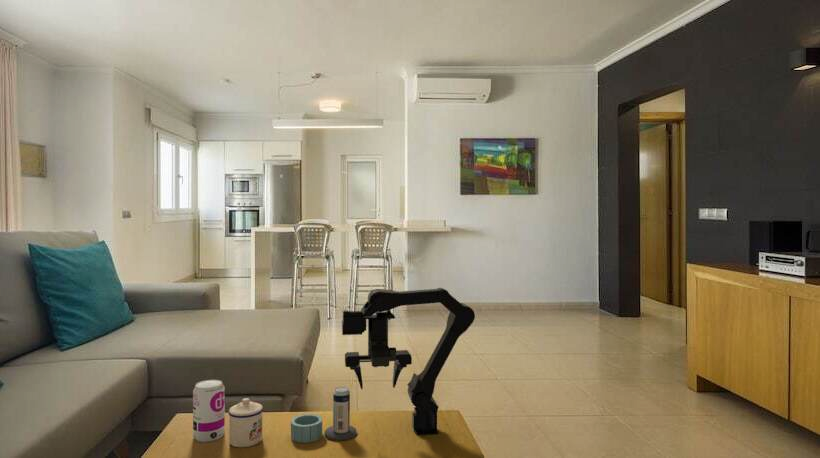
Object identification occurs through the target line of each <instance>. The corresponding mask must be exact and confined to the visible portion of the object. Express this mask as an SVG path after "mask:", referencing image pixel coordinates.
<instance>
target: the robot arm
mask: <svg viewBox="0 0 820 458" xmlns="http://www.w3.org/2000/svg"><path fill="white" fill-rule="evenodd" d="M437 303H439V304H441V305H442V306H443V307H444V308H446V310H448V311H449V313H448V316H447V321H446V327H445V329H444V331H443V333H442V335H441V337H440V339H439V341H438V342H437V344H436V347H435V348H434V349H433V352H432V354H431V355H430V358H429V359H428V361H427V363H426V364H425V366H424V369H423V370H422V371H421V372H420V373H419V374H416V373H415V372H414V373H413V374H412V377H411V379H410V381H409V382H408V383H407V385H406V386H407V387H408V388H407V395H408V397H409V399H410V402H411V403H412V405H413V406H414V408H413V412H412V414H411V415H412V416H411V421H412V422H411V423H412V424H411V428H412V429H413V430H414V433H415V434H416V435H418V436H419V435H429V434H430V435H431V434H432V435H434V434H439V433H440V432H439V429H438V410H439V405H438V404H437V402H436V401H435V399H434V397H433V395H434V391H435V386H436V381H437V378H438V377H439V375H440V373H441V371H442V369H443V367H444V365H445V364H446V362H447V360H448V357H450V354H451V352H452V351H453V349H454V347H455V345H456V344H457V341H458V340H459V338H460V337H461V336H462V335H463V334H465V332H466V331H468V329H469V328H470V326H471V325H472V324H473V322H475V319H476V314H475V311H474V310H473V309H472V307H470V306H468V305H467V304H465V303H463V302H460V301H459V300H457V299H456V298H455V297H454V296H453V295H452V294H450V292H449V291H448V290H446V289H445V288H443V287H438V288H430V289H429V288H428V289H416V290H415V289H414V290H404V291H403V290H401V291H399V290H398V291H397V290H391V289H385V288H384V289H382V288H375V289H372V290H371V291H370V292H369V293H368V295H367V301H366V302H365V304H363V306H362V308H361V309H360V310H342V321H341V334H342V335H341V336H359V335H360V336H361V335H363V333H365V332H367V331H368V332H367V354H366V355H365V354H363V355H360V353H359V351H350V352H349V351H346V353H344V365H345V367H346V368H349V370H350V371H352V370H353V371H354V372H355V375H356V377H357V380H358V381H357V382H358V383H359V386H360V387H359V388H360V390H363V388H364V387H363V385H364V384H363V378H362V377H363V376H362V368H361V365H360V364H361V363H371V366H372V367H373V368H378V367H385V368H387V367H389V366H390V362H393V370H392V371H393V373H392V374H393V375H392V388H393V389H394V388H396V385H397V382H398V379H399V376H400V374H401V372H402V371H403V369H404V368H407V367H408V366H409V365H412V364H413V362H412V361H413V359H412V355H411V352H410V351H409V350H407V349H401V350H397V347H390V346H389V320H391V319H396V316H395V314H394V313H393V312H391V310H393V309H396V308H398V307H401V306H402V307H404V306H416V305H426V304H437ZM367 320H368V321H367ZM367 327H368V328H367Z"/></svg>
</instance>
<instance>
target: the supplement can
mask: <svg viewBox="0 0 820 458" xmlns="http://www.w3.org/2000/svg"><path fill="white" fill-rule="evenodd" d="M225 389H226V388H225V385H224V384H223V381H222V380H219V379H205V380H202V381H199V382H197V383H196V384H195V386H194V388H193V390H192V430H193V431H192V437H193V439H195V440H196V441H197V442H199V443H209V442H214V441H217V440H219V439H221V438H222V437H223V435H224V434H225V431H226V427H225V424H226V422H225V421H226V417H225V416H226V415H225V414H226V413H225V411H226V410H225V408H226V407H225V406H226V405H225V401H226V398H225V396H226V395H225V391H226V390H225Z"/></svg>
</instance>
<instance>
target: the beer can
mask: <svg viewBox="0 0 820 458" xmlns="http://www.w3.org/2000/svg"><path fill="white" fill-rule="evenodd" d="M349 389H350V388H349V387H344V386H340V387H336V388H334V390H333V392H332V394H333V397H332V399H333V403H332V404H333V409H332V410H333V411H332V412H333V413H332V416H333V417H332V426H333V431H334V432H336V433H338V434H343V433H346V432H348V431H349V430H350V426H351V424H350V420H351V419H350V418H351V417H350V415H351V414H350V413H351V412H350V411H351V409H350V407H351V391H350V390H349Z"/></svg>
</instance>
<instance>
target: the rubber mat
mask: <svg viewBox="0 0 820 458" xmlns="http://www.w3.org/2000/svg"><path fill="white" fill-rule="evenodd" d="M356 436H357V428H355V426H353V425H350V430H349V431H348V432H346V433H343V434H338V433H336V432H334V431H333V425H331V426H328V428H326V429H325V430H324V437H325V439H327V440H330V441H332V442H333V441H335V442H344V441H348V440H351V439H353V438H355V437H356Z"/></svg>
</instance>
